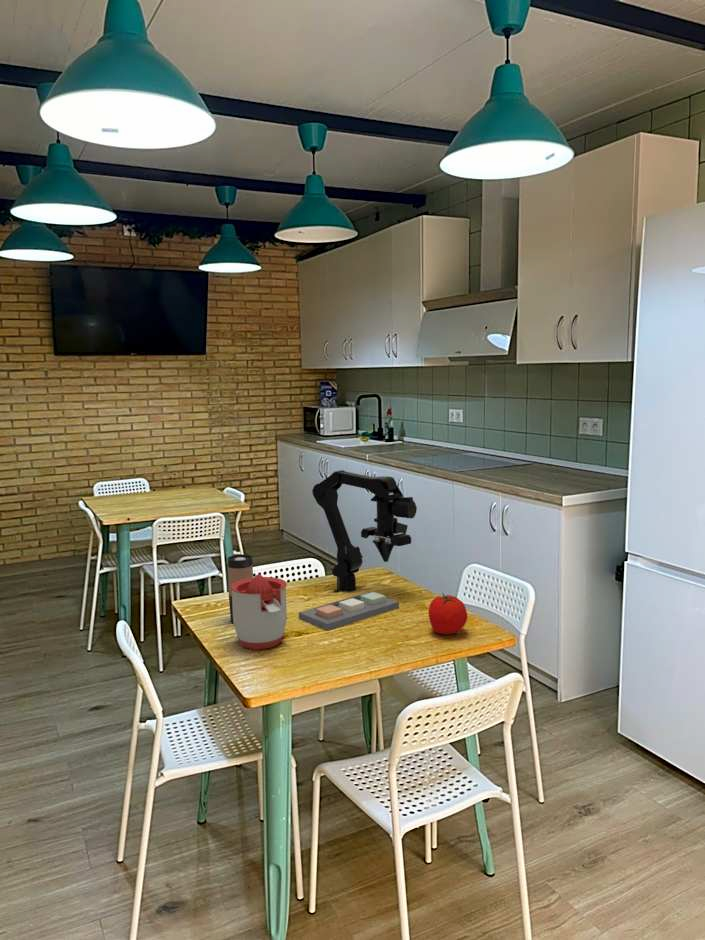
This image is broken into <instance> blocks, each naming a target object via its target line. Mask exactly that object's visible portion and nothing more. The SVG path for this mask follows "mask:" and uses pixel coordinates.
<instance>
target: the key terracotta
mask: <svg viewBox="0 0 705 940" xmlns="http://www.w3.org/2000/svg"><path fill="white" fill-rule="evenodd" d="M316 615H317V616H319V617H322V618H324V619H327V620H328V619H332V618H335V617H338V616H342V609H341V608H338V607H336V606H333V605H327V606H324V607H320V608H317V609H316Z"/></svg>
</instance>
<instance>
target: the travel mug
mask: <svg viewBox="0 0 705 940" xmlns="http://www.w3.org/2000/svg"><path fill="white" fill-rule="evenodd" d="M227 577H228V578H227V580H228V583H227V584H228V601H229V615H230V616H229V617H230V622H231V623H232V624H233V625H234V622H233V607H232V589H231V585H232V584H233V583H235V582H237V581H239V580H242V579H247V578H254V564H253V556H252V555H250V554H244V553H243V554H233V555H230V556H228V557H227Z"/></svg>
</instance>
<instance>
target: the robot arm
mask: <svg viewBox="0 0 705 940" xmlns="http://www.w3.org/2000/svg"><path fill="white" fill-rule="evenodd" d="M397 484H398V483H397V481H396V480H395V478H394V477H393V476H370V475H369V476H368V475H365V474H361V473H354V472H349V471H345V470H343V469H340V470H336V471H333V472H332V473H331V474H330V475H329V476H328V477H326V478H325V479H323V480H322V481H321V482H319V483H316V484H315V485H314V486H313V488H312V490H311V492H312V496H313V498H314V500H315V501H316V503H317V504H318V506H319V507H321V509H323V512H324V514H325V518H326V519H327V523H328V526H329V528H330V532H331V534H332V536H333V539H334V541H335V545H336V549H337V551H336V561H337V564H336V565H335V566H334V567H333V568H332V570H331V573H332V574H333V577H336V588H334V589H333V592H335V593H340V592H348V593H352V592H356V591H357V584H356V583H357V581H356V573H359V571H360V568H361V567H362V564H363V558H364V556H363V555H362V553H361V549H360V547H359V546H356V547H355V546H354V545H353V544H352V542H351V540H350V537H349V534H348V531H347V529H346V525H345V522H344V521H343V517H342V514H341V512H340V509H339V506H338V499H339V494H338V491H339V490H340V488H341V487H342V486H343V485H347V486H351V487H356V488H359V489H360V488H361V489H366V490H368V491H369V492H370V493H371V494H374V496H373V497H372V498H371V499H370V501H371V502H376V517H375V518H373V521H374V523H376V527H375V526H370V527H369V526H368V527H365V528H362V530H361V531H360V537H361V538H363V539H368V538H369V537H370V536H372V537H373V540H372V541H371V542H372V543H373V544H374V545H375V547H376V548H377V551H378V552H379V554H380V556H381V558H382V560H383V562H385V563H387V562H389V559H390V556H391V553H392V551H393V548H394V547H395V546H396V547H402V546H407V545H411V544H412V536H411V535H409V534H407V531H408V526H409V525H407V524H405V523H402V522H398V519H397V518H404V519H414V518H415V516H416V514H417V509H418V508H417V507H418V506H417V505H416V502H415V501H414V497H412V496H404V494H403V493H402V491H401V489H400V488H399V486H398V485H397Z"/></svg>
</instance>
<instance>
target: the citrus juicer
mask: <svg viewBox="0 0 705 940" xmlns="http://www.w3.org/2000/svg"><path fill="white" fill-rule="evenodd" d="M287 586H288V584H287V581H286V580H284V579H282V578H279V577H271V576H263V575H262V574H260V573H258V574H256V575H255V576H253V578H247V579H242V580H239V581H237V582H235V583H233V584H232V585H231V589H232V607H233V622H234V624H233V626H234V630H235V633H236V637H237V640H238V641H239V644H240V645H241V646H242V647H244V648H246V649H250V650H252V651H253V650H254V651H258V650H266V649H270V648H273V647H276V646H278V645H280V644H281V642H282V640H283V637H284V636H285V630H286V627H287V620H288V619H287V618H288V617H287V616H288V614H287V612H288V611H287Z"/></svg>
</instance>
